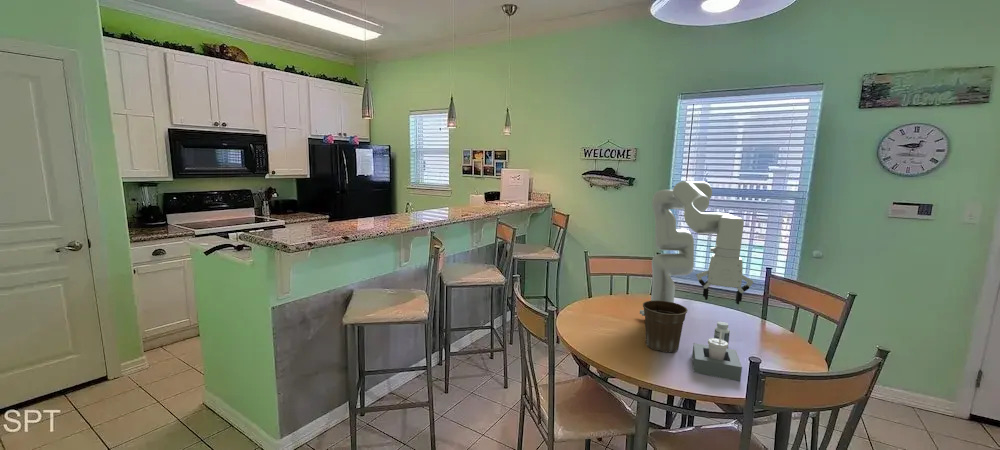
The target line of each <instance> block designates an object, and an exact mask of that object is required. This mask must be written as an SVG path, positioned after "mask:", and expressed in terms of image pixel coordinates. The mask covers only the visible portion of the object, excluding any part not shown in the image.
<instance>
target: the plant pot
mask: <svg viewBox="0 0 1000 450" xmlns="http://www.w3.org/2000/svg"><path fill="white" fill-rule="evenodd" d="M642 307H643V310H644V315H645V316H644V324H645V325H644V326H645V327H644V331H645V333H644V334H645V345H646V347H648V348H650V349H652V350H654V351H660V352H661V353H674V352H677V351H678V350H679V348H680V342H681V336H682V331H683V326H684V323H685V319H686V314H687V313H688V308H687V307H685V306H684V305H682V304H681V303H680V304H679V303H677V302H674V303H673V302H668V301H658V300H654V301H651V300H647V301H644V302H643V303H642Z"/></svg>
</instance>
